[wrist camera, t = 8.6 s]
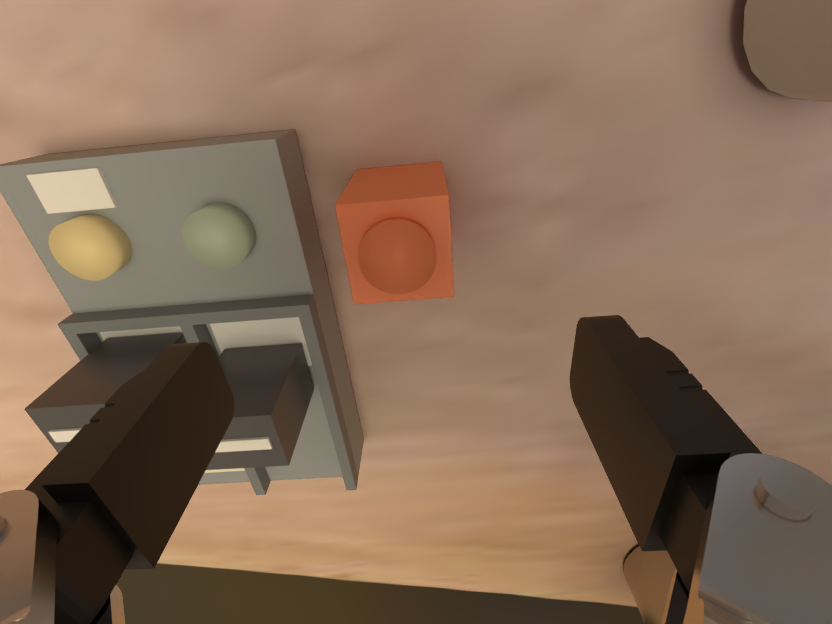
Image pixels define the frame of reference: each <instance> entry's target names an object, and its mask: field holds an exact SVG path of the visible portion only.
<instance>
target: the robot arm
mask: <svg viewBox="0 0 832 624" xmlns="http://www.w3.org/2000/svg"><path fill="white" fill-rule="evenodd" d="M570 388H571V394H572V398H573V401H574V404H575V406H576V408H577V411H578V413H579V415H580V417H581V419H582V421H583V424H584V426H585V428H586V430H587V432H588V435H589V437H590V439H591V441H592V443H593V446H594V448H595V450H596V452H597V454H598V456H599V459H600V461H601V463H602V465H603V467H604V470H605V472H606V474H607V476H608V478H609V480H610V483H611V485H612V487H613V489H614V491H615V494H616V496H617V498H618V500H619V502H620V504H621V507H622V509H623V511H624V513H625V515H626V518H627V520H628V522H629V524H630V526H631V529H632V531H633V533H634V535H635V537H636V539H637V542H638V544H639V547H637V548H636V549H635V550H633V551H632V552H631V553H630V554H629V556H628V557H627V559H626V560H625V563H624V566H623V568H624V574H625V576H626V579H627V581H628V584H629V586H630V588H631V591H632V593H633V596H634V598H635V601H636V603H637V606H638V608H639V611H640V613H641V615H642V618H643V620H644V623H645V624H832V486H831V485H830V484H829V483H827V482H826V481H824V480H823V479H822V478H820V477H819V476H817V475H816V474H814V473H812V472H811V471H809V470H807V469H805V468H803V467H801V466H799V465H797V464H795V463H792V462H790V461H787V460H784V459H781V458H778V457H774V456H770V455H765V454H762V453H761V452H760V451H759V450H758V448H757V447H756V446H755V445H754V444H753V443H752V442H751V440H750V439H749V438H748V437H747V436H746V435H745V434H744V433H743V431H742V430H741V429H740V428H739V427H738V426H737V425H736V423H735V422H734V421H733V420H732V419H731V418H730V417H729V416H728V414H727V413H726V412H725V411H724V410H723V409H722V408H721V406H720V405H719V404H718V403H717V402H716V401H715V400H714V399H713V397H712V396H711V395H710V394H709V393H708V392H707V391H706V390H703V389H702V385H701V384H700V383H699V381H698V380H697V379H696V378H695V377H694V376H693V375H692V374H689V373H688V369H687V368H686V367H685V366H684V364H683V363H682V362H681V361H680V360H679V359H678V358H677V357H676V355H675V354H674V353H673V352H672V351H670V350H669V349H667V348H665V347H664V346H662V345H660V344H659V343H657V342H655V341H654V340H652V339H650V338H649V337H644V338H639V337H638V336H637V335H636V334H635V332H634V331H633V330H632V329H631V327H630V326H629V325H628V324H627V322H626V321H625V320H624V319H623V318H622V317H621V316H619V315H612V316H597V317H583V318H580V320H579V321H578V324H577V328H576V336H575V343H574V350H573V357H572V364H571V372H570ZM233 414H234V398H233V394H232V391H231V389H230V386H229V384H228V382H227V379H226V377H225V374H224V372H223V370H222V367H221V365H220V362H219V360H218V358H217V355H216V353H215V351H214V349H213V347H212V346H211V345H210V344H209V343H207V342H195V343H180V344H170V345H168V346H166V347H165V348H164V349H163V350H162V351H161V353H160V354H159V355H158V356H157V357H156V358H155V359H154V360H153V362H152V363H151V364H150V365H149V366H148V367H147V368H146V369H145V370H143V371H142V372H140V373H139V374H137V375H136V376H134V377H133V378H131V379H130V380H129V381H127V382H126V383H124V384H123V385H122V386H121V387H120V388H119V389H118V390H117V391H116V392H115V393H114V394H113V395H112V396H111V397H110V398H109V400H108V401H107V402H106V403H105V407H104V408H100V409H99V410H98V411H97V412H96V414H95V415H94V416H93V417H92V418H91V419H90V423H89V424H85V425H84V426H83V428H82V429H81V430H80V431H79V432H78V433H77V434H76V435H75V436H74V437H73V438H72V439H71V440H70V442H69V443H68V444H67V445H66V446H65V447H64V448H63V449H62V450H61V451H60V452H59V453H58V454H57V456H56V457H55V458H54V459H53V460H52V461H51V462H50V463H49V464H48V465H47V466H46V467H45V468H44V470H43V471H42V472H41V473H40V474H39V475H38V476H37V477H36V478H35V479H34V480H33V481H32V482H31V484H30V485H29V486H28V487H27V488H26V489H25V490H12V491H8V492H4V493H0V624H125V618H124V608H123V599H122V594H121V591H120V589H119V588H118V587H117V585H116V584H117V582H118V580H119V578H120V577H121V575H122V573H123V572H124V570H125V569H151V568H154V567H155V565H156V564H157V562H158V560H159V558H160V556H161V554H162V552H163V550H164V548H165V547H166V545H167V543H168V541H169V539H170V537H171V535H172V533H173V531H174V529H175V528H176V526H177V524H178V522H179V520H180V518H181V516H182V514H183V512H184V510H185V509H186V507H187V505H188V503H189V501H190V499H191V497H192V495H193V493H194V492H195V490H196V488H197V486H198V484H199V482H200V480H201V478H202V476H203V474H204V473H205V471H206V469H207V467H208V465H209V463H210V461H211V459H212V457H213V455H214V454H215V452H216V450H217V448H218V446H219V444H220V442H221V440H222V438H223V436H224V435H225V433H226V431H227V429H228V427H229V425H230V423H231V421H232V418H233Z"/></svg>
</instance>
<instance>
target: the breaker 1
mask: <svg viewBox="0 0 832 624" xmlns="http://www.w3.org/2000/svg"><path fill="white" fill-rule="evenodd" d="M180 343H187V341H186V339H185V337H184V334H183V333H171V334H158V335H145V336H131V337H118V338H107V339H105V340H104V341H103V342H102V343H101V344H100V345H98V346H97V347H96V348H95V349H94V350H93V351H91V352H90V353H89V354H88V355H87V356H86V357H84V358H83V359H82V360H81V361H80V362H79V363H77V364H76V365H75V366H74V367H73V368H72V369H70V370H69V371H68V372H67V373H66V374H65V375H63V376H62V377H61V378H60V379H59V380H58V381H56V382H55V383H54V384H53V385H52V386H51V387H49V388H48V389H47V390H46V391H45V392H44V393H42V394H41V395H40V396H39V397H38V398H37V399H36V400H34V401H33V402H32V403H31V404H30V405H29V406H27V407H26V408H25V410H26V412H27V413H28V414H29V416H30V417H31V418H32V420H33V421H34V422H35V423H36V425H37V426H38V427H39V429H40V430H41V431H42V432H43V434H44V435H45V436H46V438H47V439H48V440H49V442H50V443H51V444H52V445H53V447H54V448H55V449H56V451H57V452H58V453H59V452H60V451H61V450H62V449H63V448H64V447H65V446H66V445H67V444H68V443H69V442H70V440H71V439H72V438H73V437H74V436H75V435H76V434H77V433H78V432H79V431H80V430H81V429H82V428H83V426H84V425H85V424H89V423H90V419H91V418H92V417H93V416H94V415H95V414H96V412H97V411H98V410H99V409H100V408H104V407H105V403H106V402H107V401H108V400H109V398H110V397H111V396H112V395H113V394H114V393H115V392H116V391H117V390H118V389H119V388H120V387H121V386H122V385H123V384H124V383H126V382H127V381H129V380H130V379H131V378H133V377H134V376H136V375H137V374H139V373H140V372H142V371H143V370H145V369H146V368H147V367H148V366H149V365H150V364H151V363H152V362H153V360H154V359H155V358H156V357H157V356H158V355H159V354H160V353H161V351H162V350H163V349H164V348H165V347H166V346H168V345H170V344H180Z"/></svg>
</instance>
